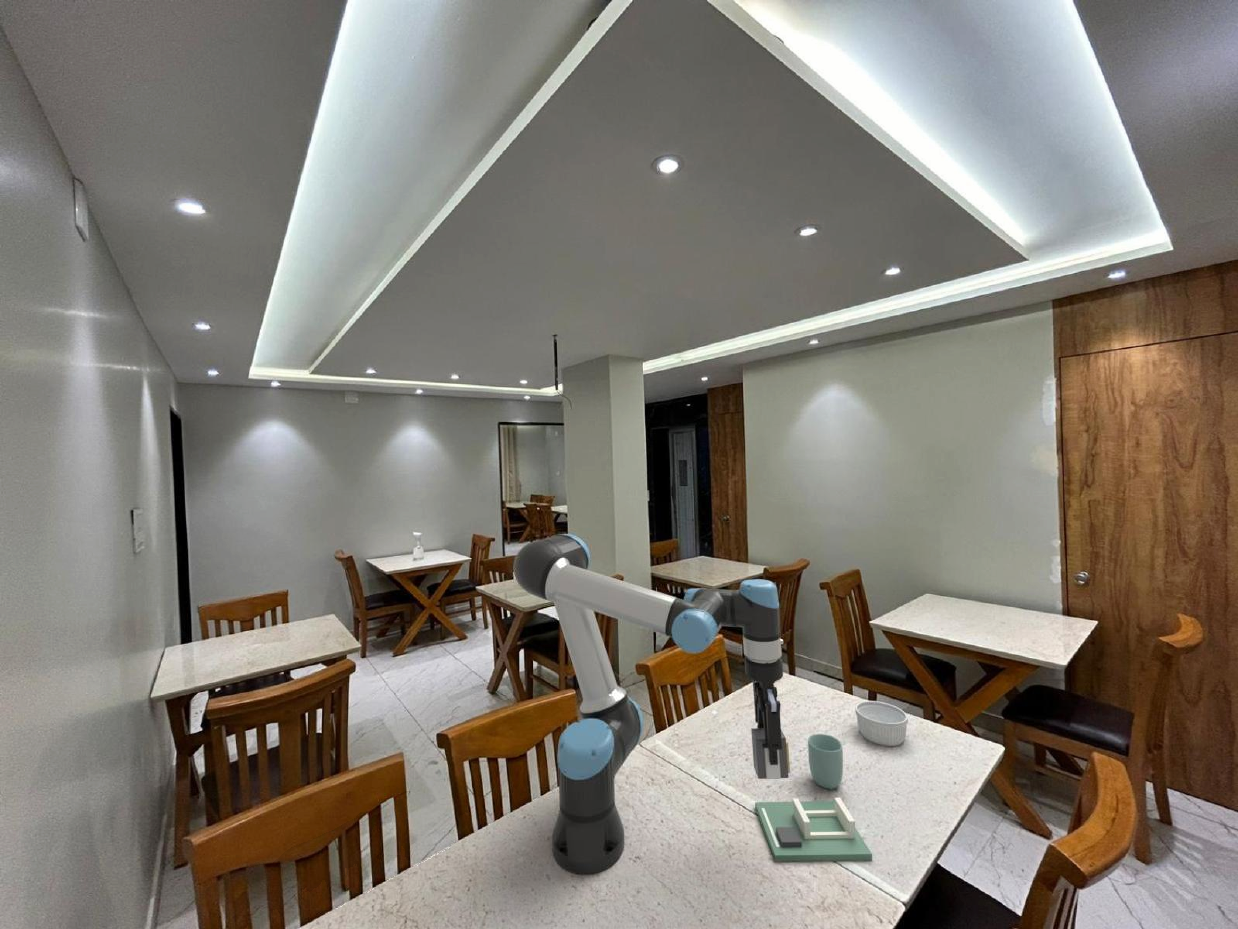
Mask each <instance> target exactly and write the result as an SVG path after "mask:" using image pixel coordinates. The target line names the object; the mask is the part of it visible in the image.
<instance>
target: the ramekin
mask: <svg viewBox="0 0 1238 929" xmlns="http://www.w3.org/2000/svg"><path fill="white" fill-rule="evenodd" d="M855 714H856V719H857V726H858V730H859V732H860V733H861V734H862V736H863V737H864V738H865V739H867V740H868V741H870V742H872V743H874V744H877V745H880V746H885V747H893V746H894V747H895V746H899V745H901V744H903V743H904V742H905V739H906V737H907V728H908V726H907V725H908V723H909V718H908V714H907V713H906V712H905V711H903V709H901V708H899V707H897V706H895V705H893V704H890V703H887V702H882V701H876V700H866V701H860V702H859V703H857V704H856V705H855Z"/></svg>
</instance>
